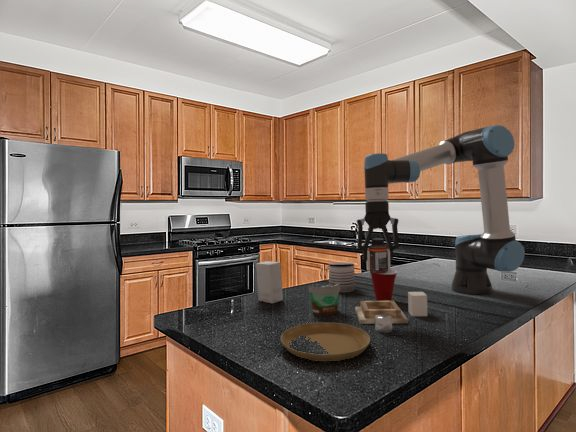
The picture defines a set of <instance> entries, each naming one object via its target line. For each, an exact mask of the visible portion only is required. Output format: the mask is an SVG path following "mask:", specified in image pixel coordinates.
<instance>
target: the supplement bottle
mask: <svg viewBox="0 0 576 432" xmlns="http://www.w3.org/2000/svg"><path fill="white" fill-rule="evenodd" d="M368 250H369V251H370V271H369V272H371V273H376V274H377V273H378V274H383V273H386V272H387V271H388V264H387V250H388V245H386V244H385V238H382V237H376V238H375V237H374V238H371V244H369V246H368ZM371 273H370V274H371Z"/></svg>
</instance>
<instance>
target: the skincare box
mask: <svg viewBox="0 0 576 432" xmlns="http://www.w3.org/2000/svg"><path fill="white" fill-rule="evenodd" d="M255 268H256V282H257V295H258V301H259V302H262V301H263V302H264V303H267V304H268V303H269V304H274V303H275V304H276V303H278V302H281V301H283V300H284V297H283V281H282V269H281V262H280V261H269V260H267V261H266V260H265V261H262V262H257V263H255Z"/></svg>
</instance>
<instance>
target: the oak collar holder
mask: <svg viewBox="0 0 576 432" xmlns="http://www.w3.org/2000/svg"><path fill="white" fill-rule="evenodd" d="M354 309H355V310H354V311H355V313H356V315H357V319H358V321H359V324H360V325H370V324H372V325H373V324H374V325H375V316H376V315H380V314H385V315H390V316H392V324H409V318H407V316H406V314H404V312H403V311H402V309H401V308H400V307H399V306H398V304H397V303H396V301H395V300H394V299H393V300H392V299H391V301H377V300H360V306H355V307H354Z"/></svg>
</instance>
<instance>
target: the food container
mask: <svg viewBox="0 0 576 432" xmlns="http://www.w3.org/2000/svg"><path fill="white" fill-rule="evenodd" d="M340 290H341V288H340V285H339V283H338V282H336V284H333V285H329V284H323V285H320V286H311V285H309V288H308V293H310V294H309V295H310V300H311V309H312V314H314V315H316V316H325V317H326V316H332V315H333V316H334V315H335V314H338V310H339V293H340V292H339V291H340Z"/></svg>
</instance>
